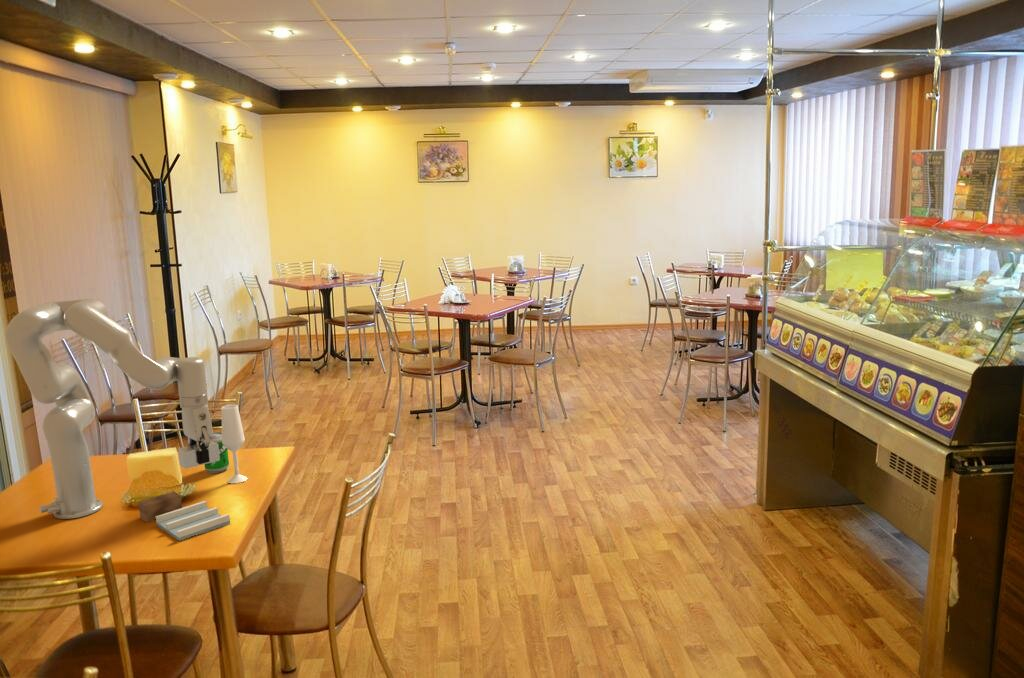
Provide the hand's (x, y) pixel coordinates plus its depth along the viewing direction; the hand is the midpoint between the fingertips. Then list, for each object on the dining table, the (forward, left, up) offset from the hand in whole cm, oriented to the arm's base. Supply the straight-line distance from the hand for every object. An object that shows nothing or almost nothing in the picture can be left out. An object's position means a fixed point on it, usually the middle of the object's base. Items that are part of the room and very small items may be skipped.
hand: (199, 460), depth 232 cm
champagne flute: (+14, +8, -13) cm, 21 cm away
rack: (-10, -14, -13) cm, 21 cm away
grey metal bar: (0, 0, -1) cm, 1 cm away
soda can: (+14, +22, -13) cm, 29 cm away
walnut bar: (-13, 0, -13) cm, 18 cm away
